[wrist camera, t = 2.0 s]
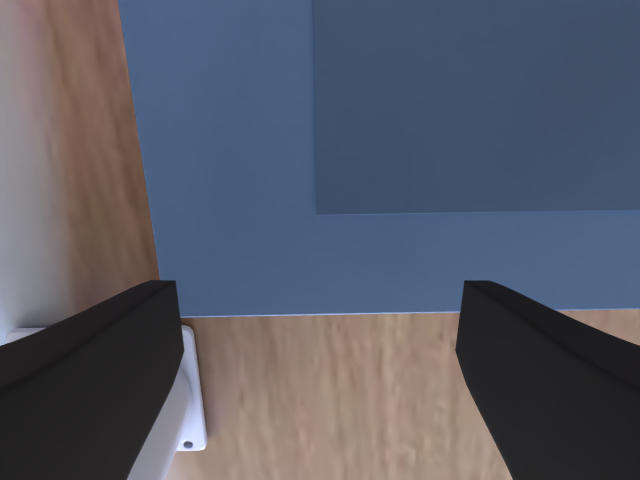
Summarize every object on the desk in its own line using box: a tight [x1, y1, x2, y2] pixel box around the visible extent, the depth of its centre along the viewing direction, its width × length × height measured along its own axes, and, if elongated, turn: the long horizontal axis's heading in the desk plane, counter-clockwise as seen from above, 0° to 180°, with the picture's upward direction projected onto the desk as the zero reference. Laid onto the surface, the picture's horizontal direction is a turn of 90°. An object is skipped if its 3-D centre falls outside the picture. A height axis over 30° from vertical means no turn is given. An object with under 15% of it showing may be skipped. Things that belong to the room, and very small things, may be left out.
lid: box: [118, 0, 640, 317], centre depth 12 cm, size 17×13×2 cm
